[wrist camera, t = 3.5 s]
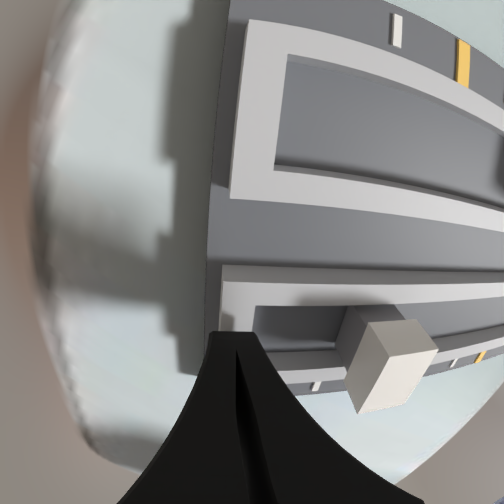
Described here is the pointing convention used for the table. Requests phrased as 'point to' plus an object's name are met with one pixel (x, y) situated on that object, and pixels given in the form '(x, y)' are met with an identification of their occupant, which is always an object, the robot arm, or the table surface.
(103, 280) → the table surface
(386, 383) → the fader
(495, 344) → the console
